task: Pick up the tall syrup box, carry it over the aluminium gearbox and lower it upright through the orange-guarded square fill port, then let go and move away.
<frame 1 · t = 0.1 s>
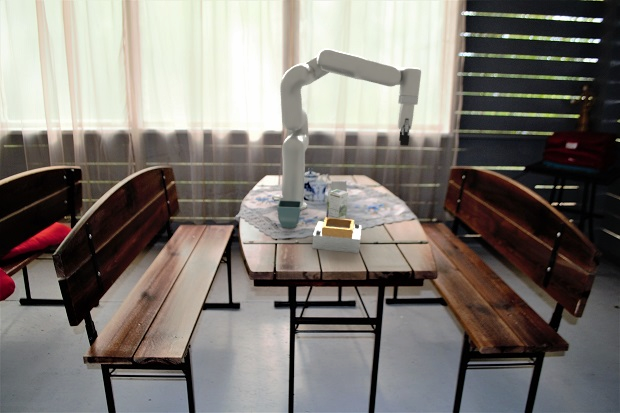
hand: (403, 143, 183), 31 cm above the table, tool pointing down, fingers open, 9 cm apart
flower pot: (288, 226, 175), on the table
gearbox: (337, 243, 160), on the table
syrup box: (335, 227, 176), on the table
grey block: (337, 202, 207), on the table
white cylinder: (339, 213, 193), on the table
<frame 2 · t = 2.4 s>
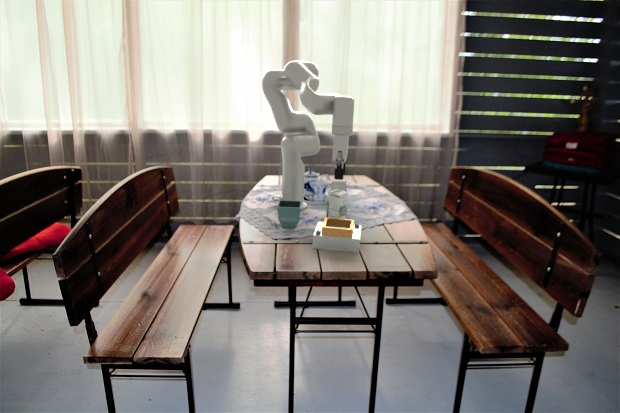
hand: (339, 176, 169), 21 cm above the table, tool pointing down, fingers open, 9 cm apart
nothing on the table moved.
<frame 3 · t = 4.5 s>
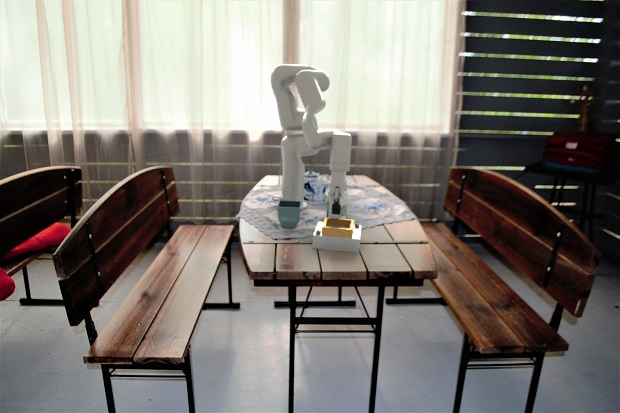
hand: (336, 210, 174), 7 cm above the table, tool pointing down, fingers closed on syrup box, 7 cm apart
syrup box: (335, 227, 176), on the table, touching gripper
everything else where it was.
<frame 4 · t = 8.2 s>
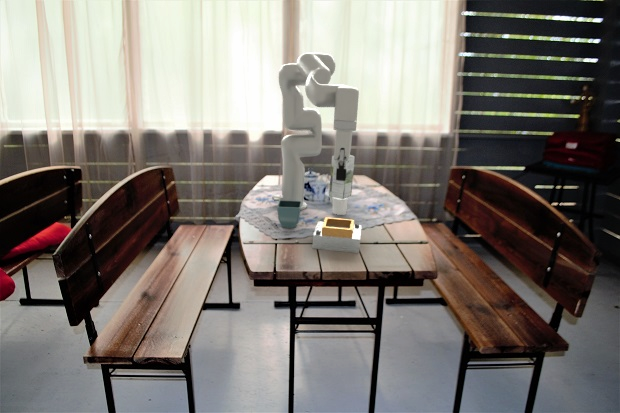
hand: (341, 177, 154), 24 cm above the table, tool pointing down, fingers closed on syrup box, 7 cm apart
syrup box: (340, 196, 156), point 17 cm above the table, touching gripper
everything else where it was.
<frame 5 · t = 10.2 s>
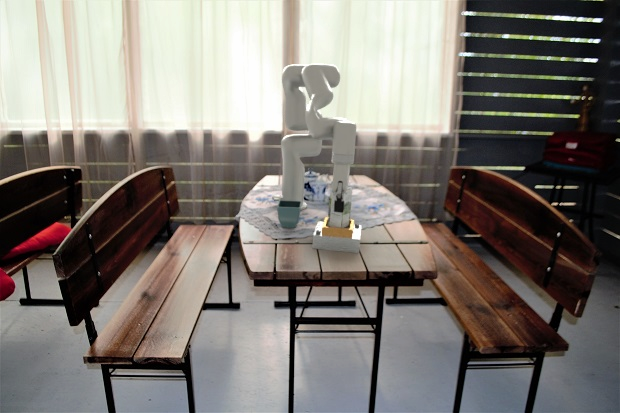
hand: (339, 208, 156), 13 cm above the table, tool pointing down, fingers closed on syrup box, 7 cm apart
syrup box: (338, 227, 158), point 6 cm above the table, touching gripper
everything else where it was.
when the fingers open (10 cm above the table, at t = 11.9 s): syrup box drops 3 cm, resting in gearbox.
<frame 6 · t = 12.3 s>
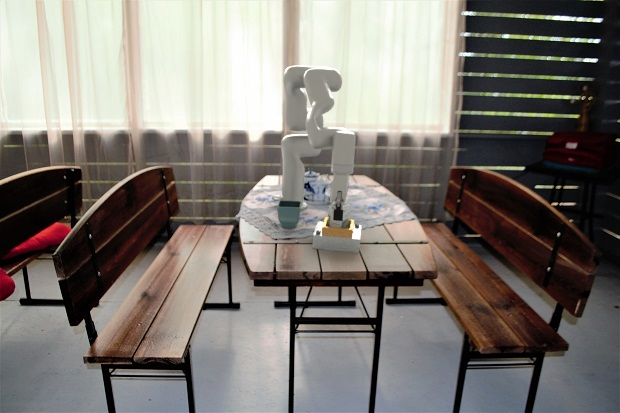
hand: (339, 215, 157), 10 cm above the table, tool pointing down, fingers open, 9 cm apart
syrup box: (337, 243, 161), resting in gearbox
everything else where it was.
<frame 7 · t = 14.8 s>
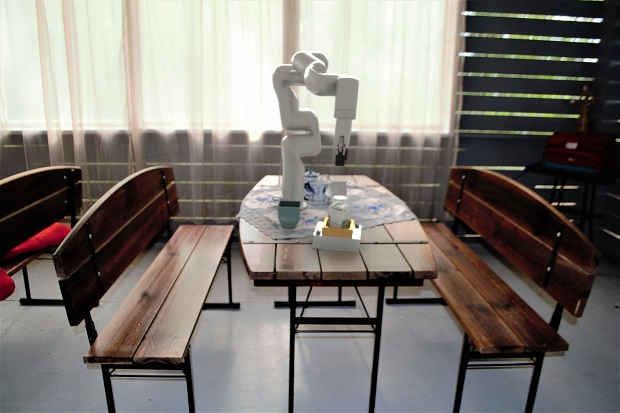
hand: (341, 162, 160), 27 cm above the table, tool pointing down, fingers open, 9 cm apart
nothing on the table moved.
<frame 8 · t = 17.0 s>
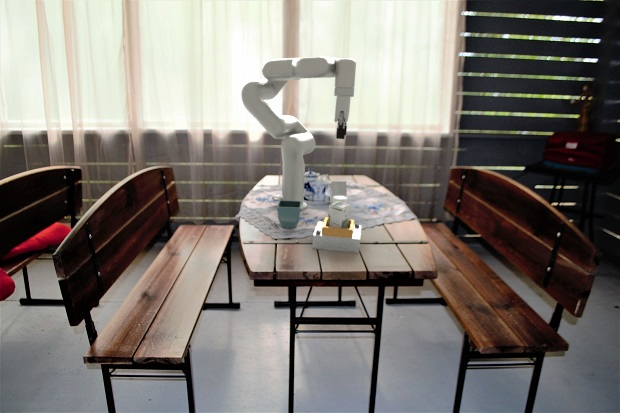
hand: (341, 136, 178), 33 cm above the table, tool pointing down, fingers open, 9 cm apart
nothing on the table moved.
at the end: syrup box 0.4 cm off-centre on the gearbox, point 0.0 cm above the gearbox's base; syrup box tilted 0°; the gripper is holding nothing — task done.
